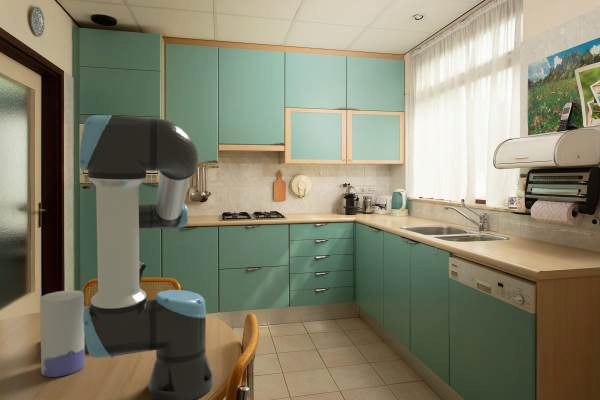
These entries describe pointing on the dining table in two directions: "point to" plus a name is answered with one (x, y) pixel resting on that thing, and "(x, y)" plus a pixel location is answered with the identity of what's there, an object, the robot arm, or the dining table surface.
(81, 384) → the dining table surface
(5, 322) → the dining table surface
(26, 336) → the dining table surface
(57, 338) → the container
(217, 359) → the dining table surface
